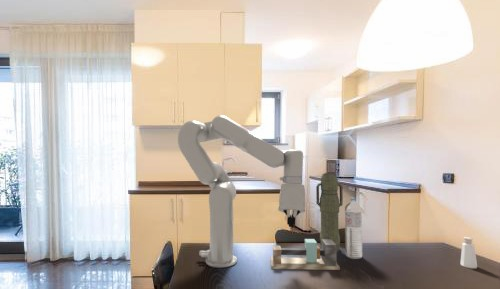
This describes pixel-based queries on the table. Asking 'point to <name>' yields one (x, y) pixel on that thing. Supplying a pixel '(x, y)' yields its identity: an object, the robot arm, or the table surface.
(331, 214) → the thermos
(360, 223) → the water bottle
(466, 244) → the salt shaker
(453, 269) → the table surface
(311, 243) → the mint green boxy block
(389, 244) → the table surface
